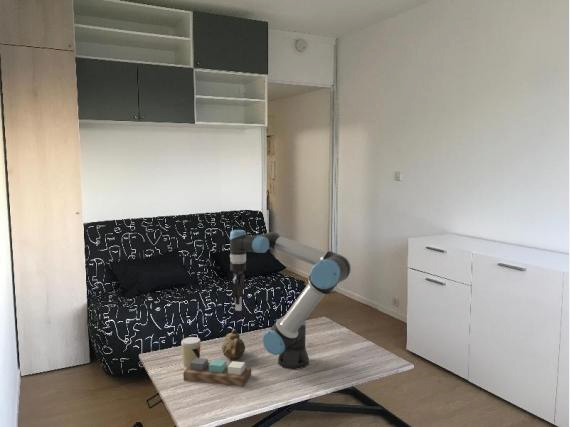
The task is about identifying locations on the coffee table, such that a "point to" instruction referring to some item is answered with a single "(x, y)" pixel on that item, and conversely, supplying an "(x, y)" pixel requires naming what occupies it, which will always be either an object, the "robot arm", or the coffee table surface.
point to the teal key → (217, 366)
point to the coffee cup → (190, 350)
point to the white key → (236, 368)
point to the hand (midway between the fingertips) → (238, 310)
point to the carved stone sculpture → (233, 346)
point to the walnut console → (217, 376)
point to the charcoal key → (199, 364)
